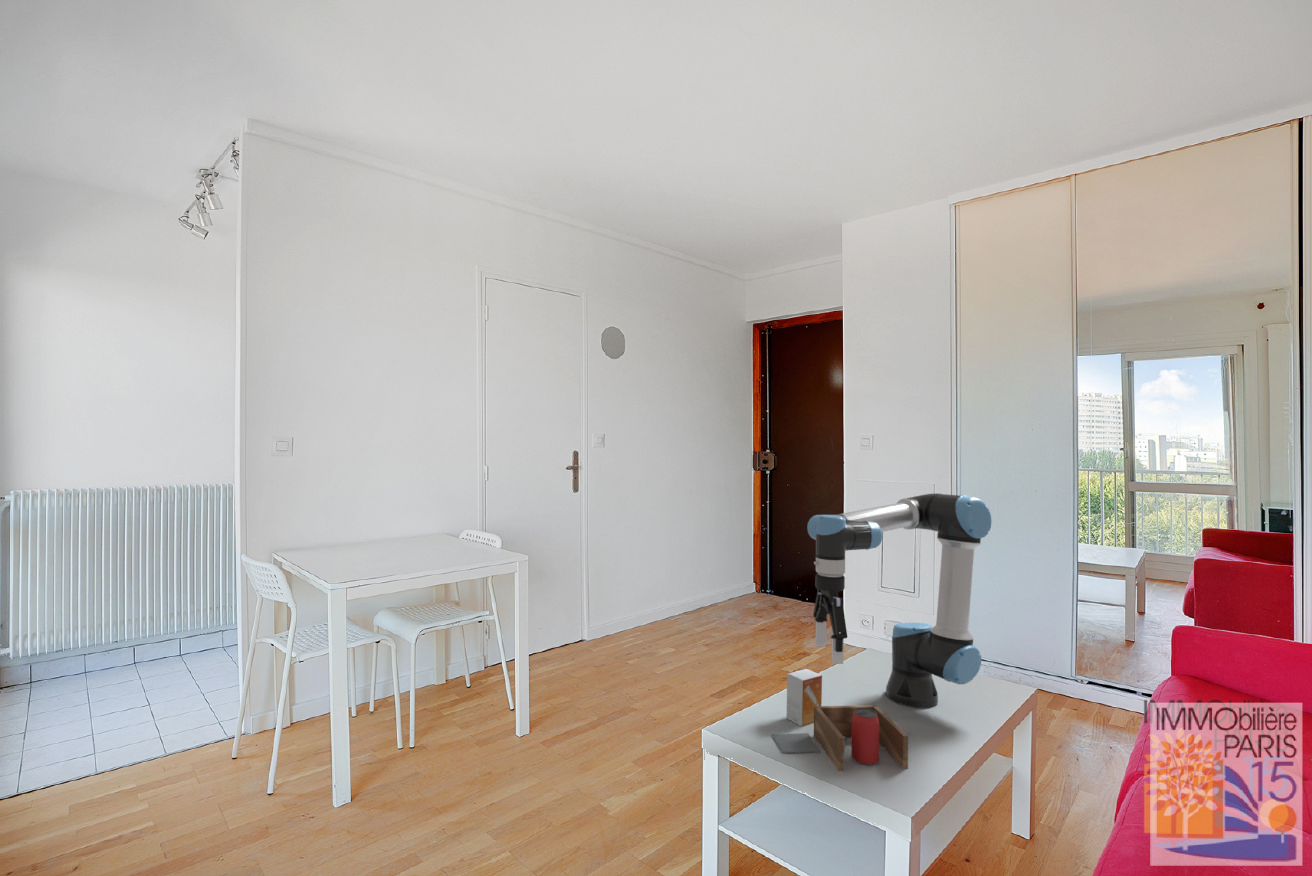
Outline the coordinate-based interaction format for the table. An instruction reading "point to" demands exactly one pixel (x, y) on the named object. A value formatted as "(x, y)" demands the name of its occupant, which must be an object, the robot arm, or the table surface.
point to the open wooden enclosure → (838, 724)
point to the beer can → (865, 736)
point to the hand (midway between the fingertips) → (828, 654)
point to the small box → (803, 695)
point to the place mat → (796, 743)
